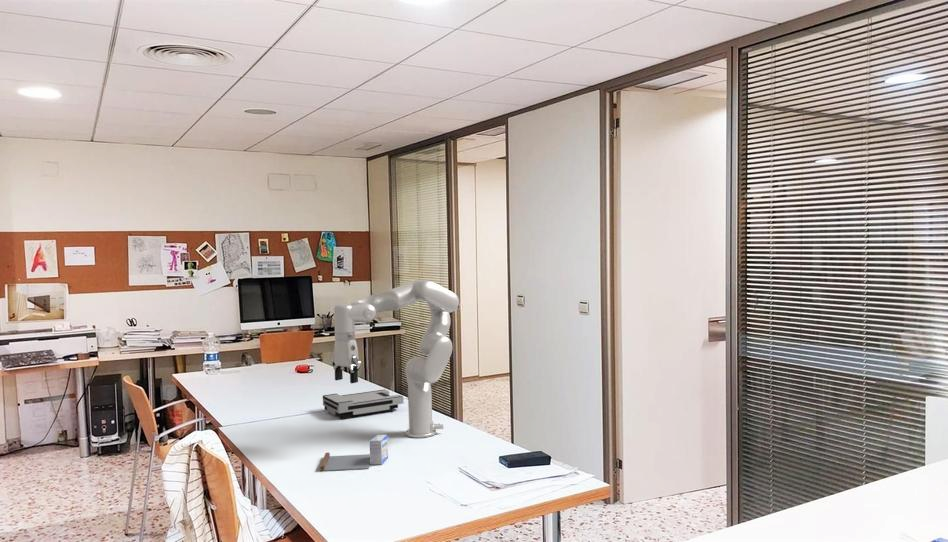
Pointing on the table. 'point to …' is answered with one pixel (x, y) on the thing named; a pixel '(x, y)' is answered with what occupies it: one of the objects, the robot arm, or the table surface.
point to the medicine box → (378, 449)
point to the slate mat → (348, 462)
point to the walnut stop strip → (324, 461)
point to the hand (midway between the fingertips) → (346, 381)
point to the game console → (361, 404)
